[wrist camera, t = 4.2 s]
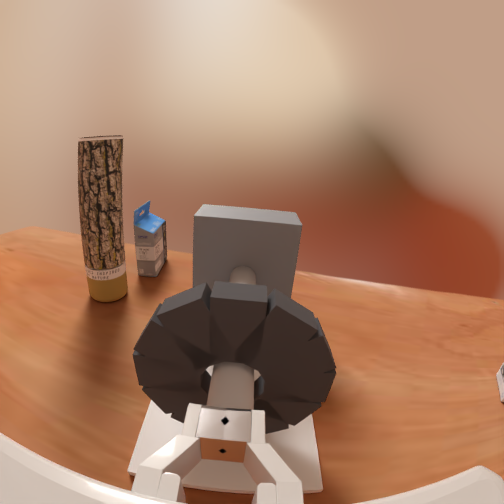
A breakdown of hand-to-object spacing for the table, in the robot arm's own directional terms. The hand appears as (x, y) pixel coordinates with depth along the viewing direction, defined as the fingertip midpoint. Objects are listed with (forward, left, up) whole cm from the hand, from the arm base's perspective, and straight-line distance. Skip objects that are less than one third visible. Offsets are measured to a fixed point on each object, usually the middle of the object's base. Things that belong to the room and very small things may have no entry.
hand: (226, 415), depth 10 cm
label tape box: (-18, +43, -15) cm, 49 cm away
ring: (0, +8, -13) cm, 15 cm away
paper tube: (-22, +31, -15) cm, 41 cm away
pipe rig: (0, +16, -15) cm, 22 cm away
